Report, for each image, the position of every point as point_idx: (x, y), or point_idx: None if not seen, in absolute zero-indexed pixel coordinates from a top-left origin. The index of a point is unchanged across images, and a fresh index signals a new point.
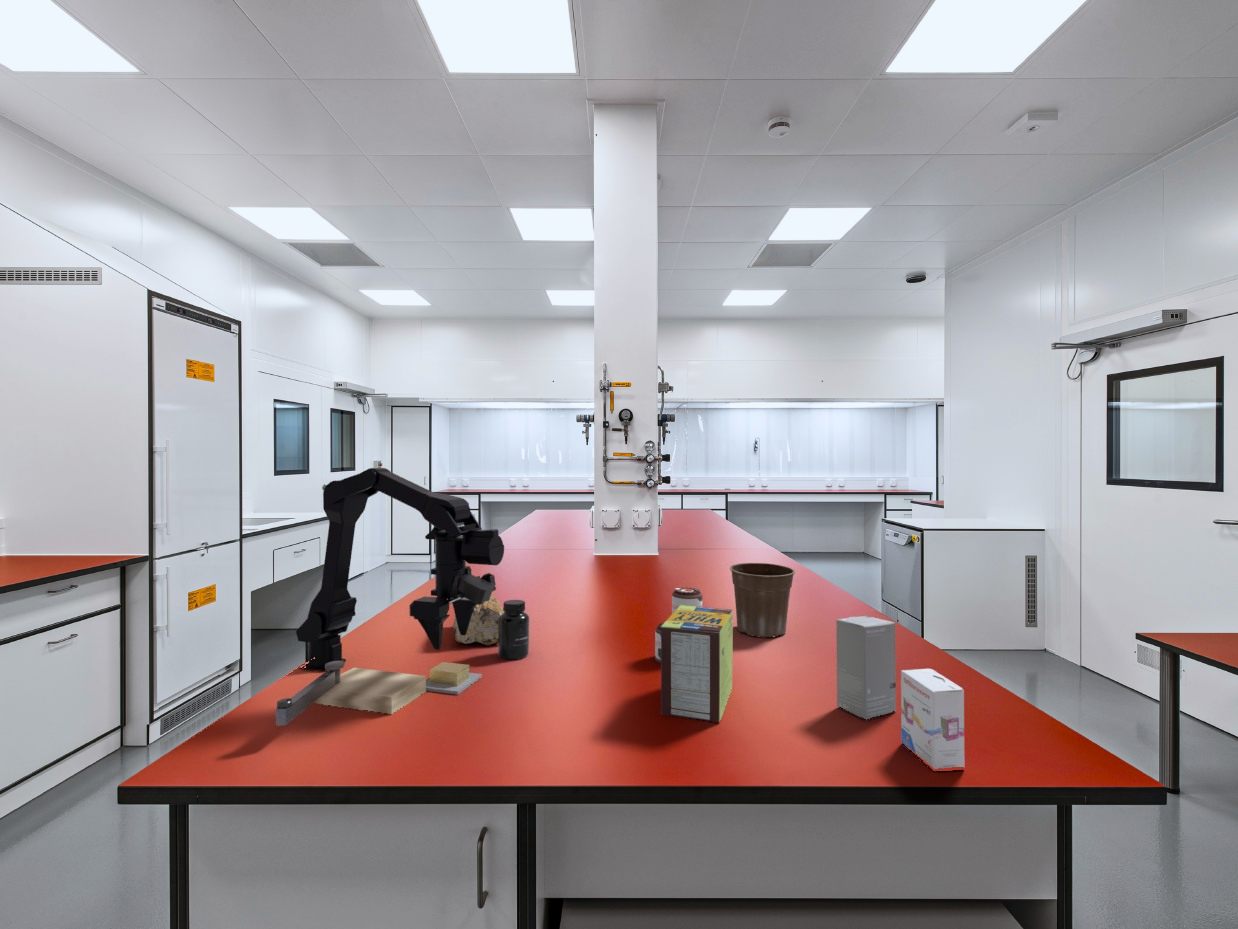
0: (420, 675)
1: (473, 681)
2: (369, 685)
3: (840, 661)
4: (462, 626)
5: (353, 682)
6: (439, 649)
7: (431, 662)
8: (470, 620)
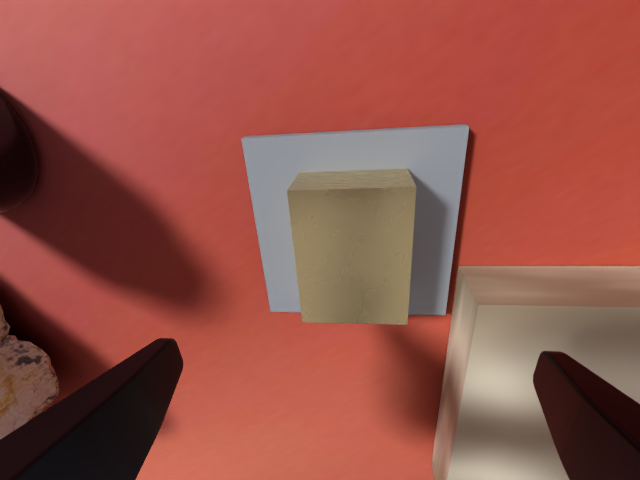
0: (476, 327)
1: (321, 133)
2: None
3: None
4: (138, 413)
5: None
6: (559, 351)
7: (216, 372)
8: None
